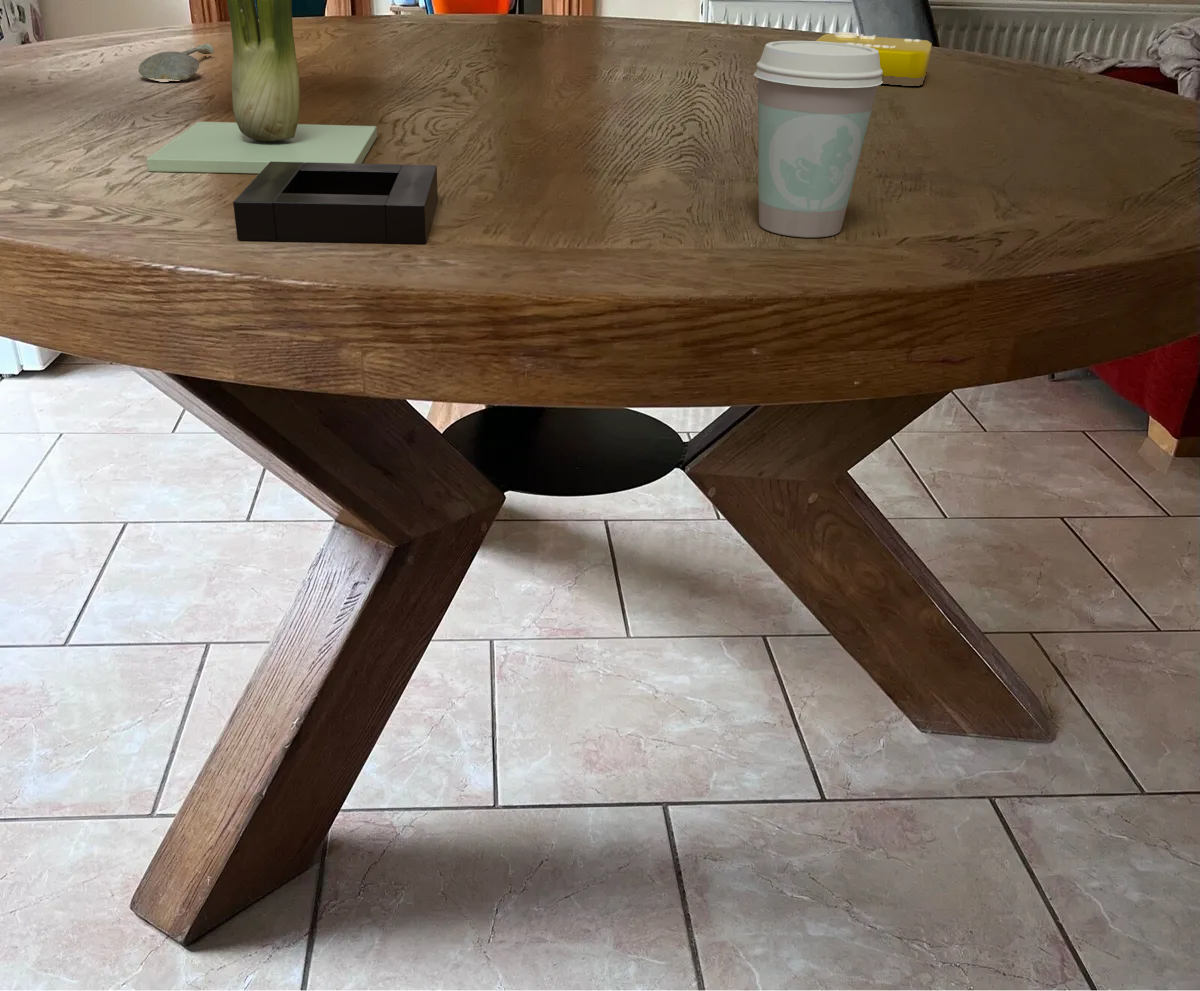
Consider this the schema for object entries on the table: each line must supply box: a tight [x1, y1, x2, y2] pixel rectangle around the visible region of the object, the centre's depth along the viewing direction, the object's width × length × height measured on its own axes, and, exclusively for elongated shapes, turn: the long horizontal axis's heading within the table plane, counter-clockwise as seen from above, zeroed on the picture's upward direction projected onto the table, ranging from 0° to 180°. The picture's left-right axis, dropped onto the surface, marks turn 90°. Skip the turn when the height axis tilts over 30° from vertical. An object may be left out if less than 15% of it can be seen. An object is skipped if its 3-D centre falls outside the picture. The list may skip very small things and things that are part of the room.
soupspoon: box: [137, 43, 215, 81], centre depth 135 cm, size 22×3×7 cm
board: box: [145, 121, 378, 175], centre depth 95 cm, size 16×16×1 cm
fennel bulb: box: [226, 0, 301, 141], centre depth 92 cm, size 6×5×12 cm
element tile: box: [815, 31, 933, 78], centre depth 150 cm, size 15×15×5 cm
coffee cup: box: [753, 40, 883, 239], centre depth 77 cm, size 9×9×12 cm
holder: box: [232, 162, 439, 245], centre depth 77 cm, size 12×12×2 cm
